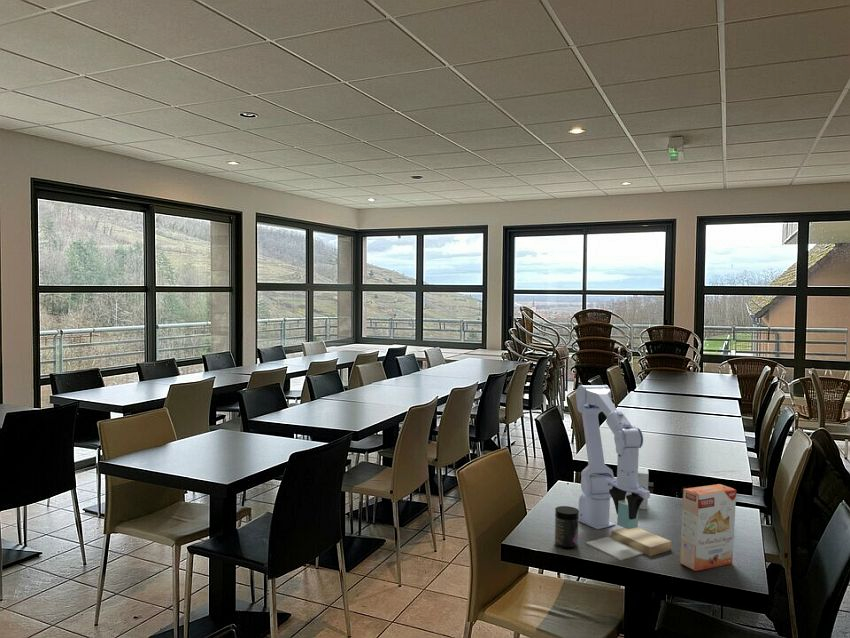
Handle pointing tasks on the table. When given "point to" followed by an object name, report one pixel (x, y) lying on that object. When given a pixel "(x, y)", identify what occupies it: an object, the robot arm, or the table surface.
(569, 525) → the supplement container
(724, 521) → the cracker box
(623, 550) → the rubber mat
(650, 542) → the oak slab
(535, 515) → the table surface
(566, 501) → the table surface
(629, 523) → the teal block
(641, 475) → the supplement box
